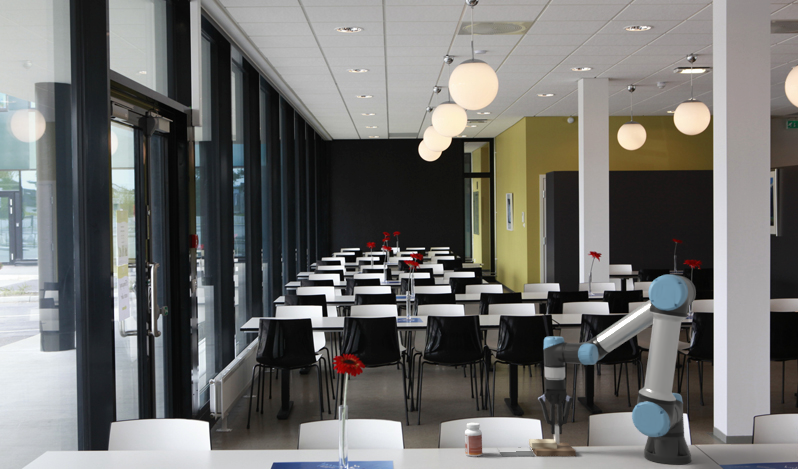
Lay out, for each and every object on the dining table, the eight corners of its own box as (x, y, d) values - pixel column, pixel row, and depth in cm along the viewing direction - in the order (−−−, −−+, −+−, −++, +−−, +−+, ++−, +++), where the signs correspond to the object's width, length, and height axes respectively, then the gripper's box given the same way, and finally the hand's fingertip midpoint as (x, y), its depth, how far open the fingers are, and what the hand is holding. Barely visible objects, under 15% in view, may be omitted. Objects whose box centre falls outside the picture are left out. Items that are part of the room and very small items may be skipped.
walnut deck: (567, 448, 230) (567, 442, 230) (575, 456, 218) (575, 450, 218) (530, 448, 230) (530, 442, 230) (536, 456, 218) (536, 450, 218)
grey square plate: (528, 448, 230) (528, 447, 230) (535, 456, 218) (535, 455, 218) (497, 448, 230) (497, 447, 230) (501, 456, 218) (501, 455, 218)
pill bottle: (485, 454, 221) (485, 423, 222) (475, 458, 217) (474, 426, 218) (472, 451, 225) (472, 421, 227) (461, 455, 221) (461, 423, 222)
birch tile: (553, 444, 227) (553, 439, 227) (556, 448, 221) (556, 442, 221) (529, 444, 227) (528, 439, 228) (532, 448, 221) (531, 442, 222)
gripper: (569, 377, 230) (571, 440, 228) (535, 377, 231) (537, 440, 228) (575, 379, 223) (577, 445, 221) (539, 379, 223) (541, 445, 221)
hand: (556, 443), depth 225 cm, fingers closed
